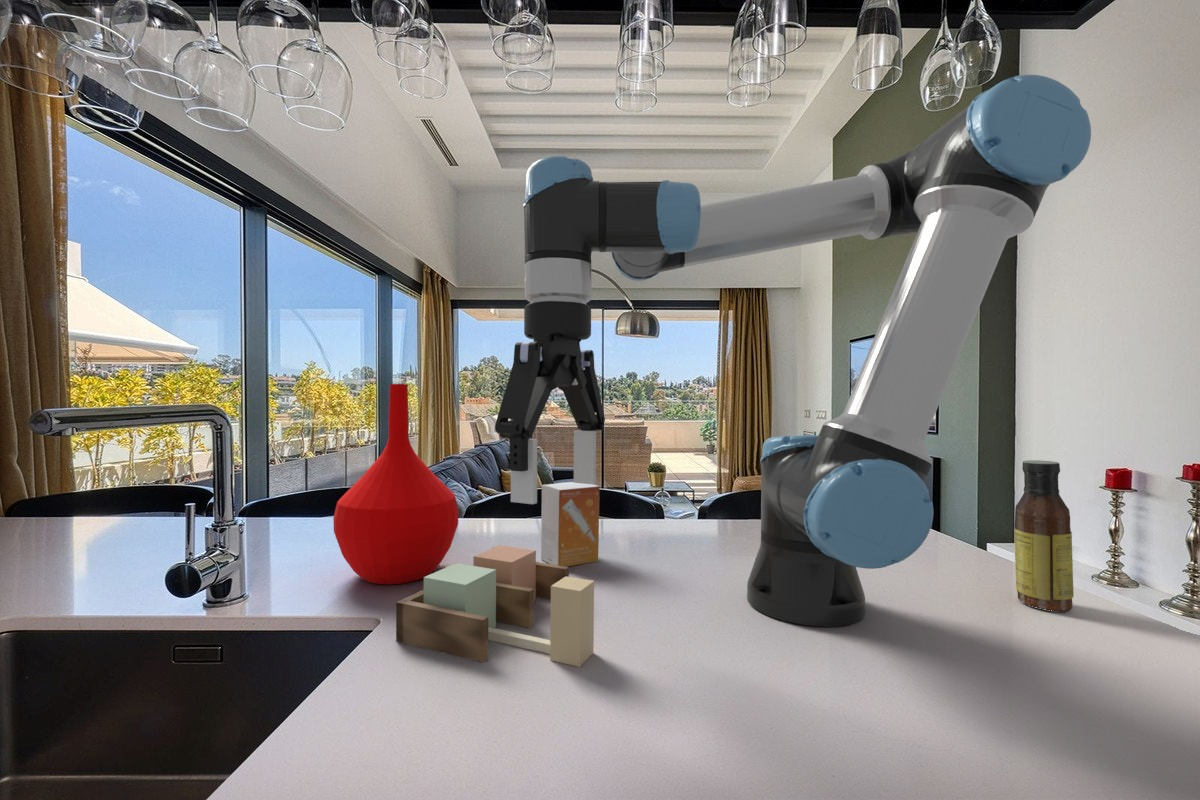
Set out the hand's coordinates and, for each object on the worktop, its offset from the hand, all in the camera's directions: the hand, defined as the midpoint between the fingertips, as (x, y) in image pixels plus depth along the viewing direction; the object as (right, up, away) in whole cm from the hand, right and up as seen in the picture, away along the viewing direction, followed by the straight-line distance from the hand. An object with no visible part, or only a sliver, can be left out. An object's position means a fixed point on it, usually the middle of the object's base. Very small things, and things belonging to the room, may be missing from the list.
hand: (557, 492), depth 63 cm
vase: (-27, -17, +24) cm, 40 cm away
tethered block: (-6, -17, +1) cm, 18 cm away
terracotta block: (-8, -17, +12) cm, 23 cm away
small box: (0, -17, +32) cm, 37 cm away
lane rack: (-9, -17, +8) cm, 21 cm away
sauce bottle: (+66, -18, +14) cm, 70 cm away
